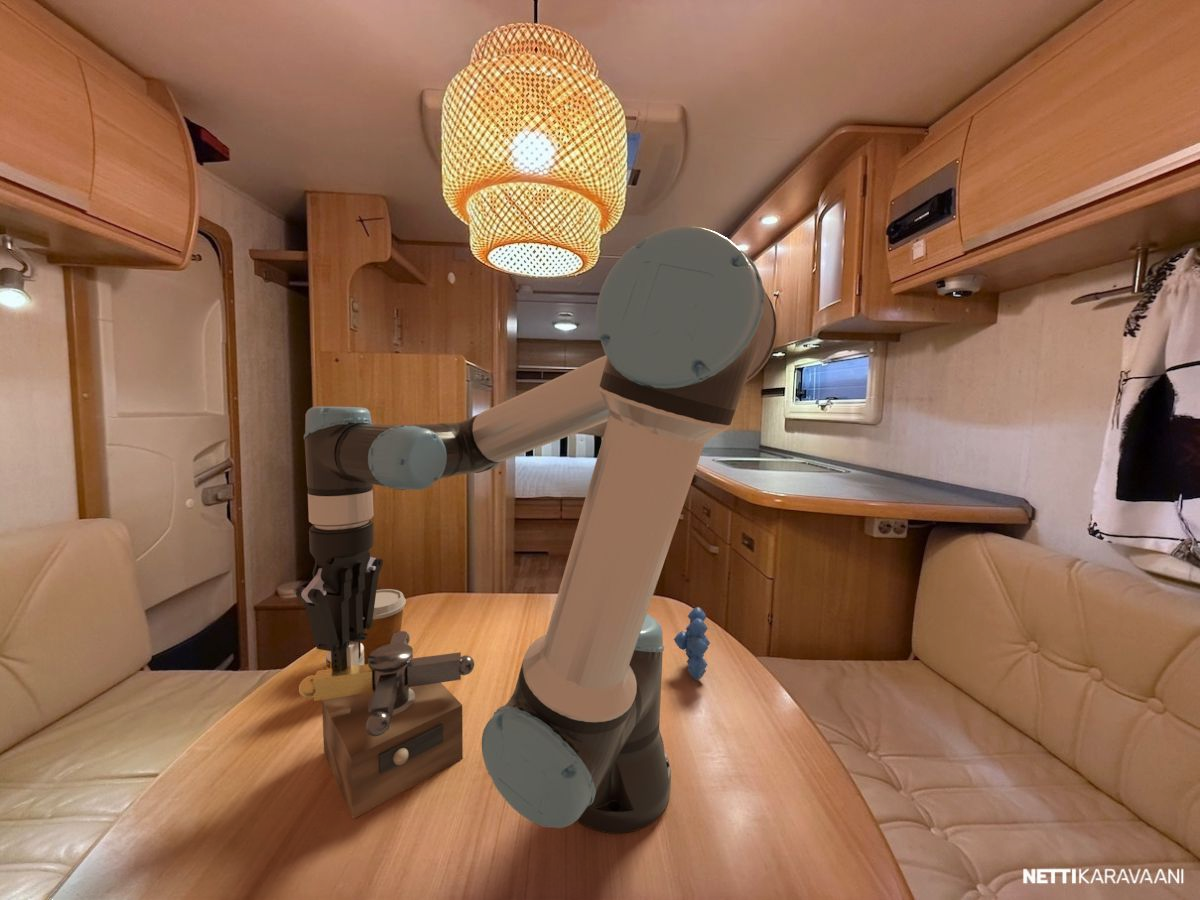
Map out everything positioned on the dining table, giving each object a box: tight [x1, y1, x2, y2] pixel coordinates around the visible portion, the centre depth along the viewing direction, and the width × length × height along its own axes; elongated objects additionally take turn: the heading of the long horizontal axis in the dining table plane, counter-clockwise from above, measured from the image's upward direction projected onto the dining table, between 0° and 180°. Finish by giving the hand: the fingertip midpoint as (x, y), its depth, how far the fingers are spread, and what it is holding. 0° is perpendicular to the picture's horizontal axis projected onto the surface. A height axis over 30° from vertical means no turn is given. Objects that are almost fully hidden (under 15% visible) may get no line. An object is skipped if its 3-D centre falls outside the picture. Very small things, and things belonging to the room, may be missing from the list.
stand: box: [321, 682, 464, 820], centre depth 63 cm, size 16×14×8 cm
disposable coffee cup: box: [360, 588, 407, 665], centre depth 87 cm, size 10×10×12 cm
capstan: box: [298, 630, 475, 736], centre depth 63 cm, size 22×22×7 cm
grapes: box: [673, 606, 711, 681], centre depth 85 cm, size 12×7×12 cm, turn 172°
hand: (347, 687), depth 63 cm, fingers closed
